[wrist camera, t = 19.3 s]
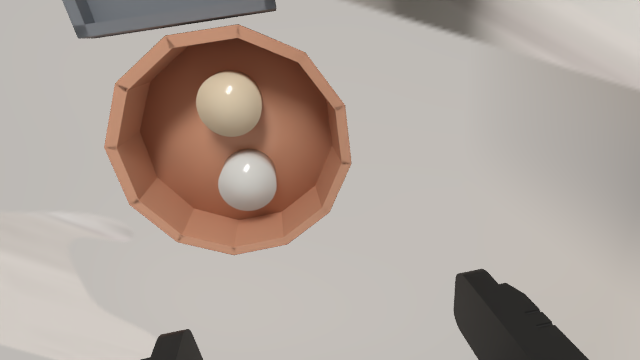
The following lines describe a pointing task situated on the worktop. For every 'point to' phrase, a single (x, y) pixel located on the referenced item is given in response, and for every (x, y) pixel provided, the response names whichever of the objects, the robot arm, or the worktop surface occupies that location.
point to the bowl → (226, 140)
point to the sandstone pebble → (229, 103)
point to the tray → (153, 14)
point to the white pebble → (248, 180)
